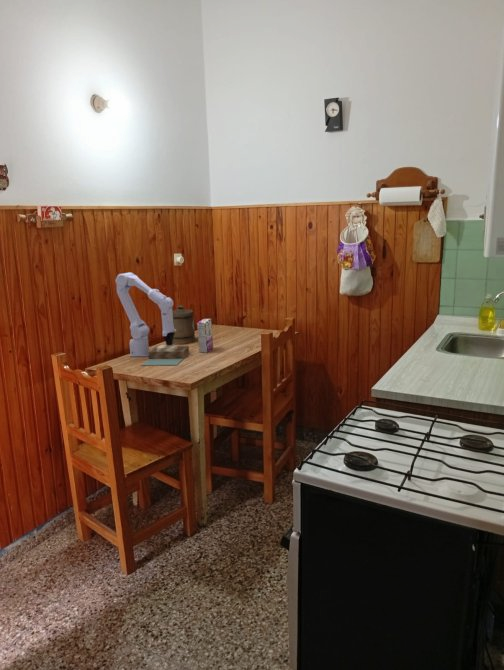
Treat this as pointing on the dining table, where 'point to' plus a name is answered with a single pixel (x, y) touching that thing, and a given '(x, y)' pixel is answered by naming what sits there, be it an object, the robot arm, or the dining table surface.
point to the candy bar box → (205, 335)
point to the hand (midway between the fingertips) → (169, 346)
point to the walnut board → (169, 353)
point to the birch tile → (166, 348)
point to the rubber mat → (162, 362)
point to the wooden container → (183, 326)
